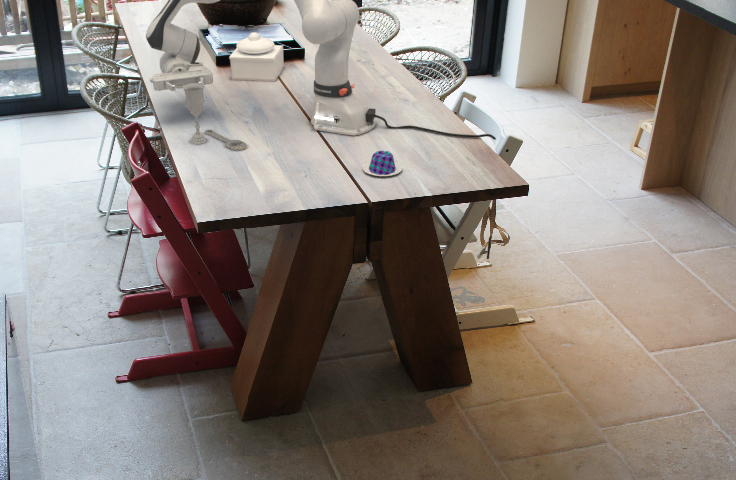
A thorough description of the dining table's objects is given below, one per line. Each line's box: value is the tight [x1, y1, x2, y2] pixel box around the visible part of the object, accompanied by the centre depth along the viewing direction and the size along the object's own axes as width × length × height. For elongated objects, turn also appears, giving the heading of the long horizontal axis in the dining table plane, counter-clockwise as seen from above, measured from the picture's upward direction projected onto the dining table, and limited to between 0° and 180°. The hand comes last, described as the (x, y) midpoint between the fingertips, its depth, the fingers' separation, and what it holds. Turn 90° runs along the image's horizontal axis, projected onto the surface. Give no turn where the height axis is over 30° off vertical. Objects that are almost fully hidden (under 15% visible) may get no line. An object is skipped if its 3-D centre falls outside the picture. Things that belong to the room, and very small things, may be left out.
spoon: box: [205, 129, 247, 151], centre depth 278 cm, size 21×5×1 cm, turn 39°
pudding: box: [362, 150, 403, 177], centre depth 254 cm, size 12×12×5 cm
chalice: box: [182, 83, 207, 145], centre depth 273 cm, size 7×7×18 cm
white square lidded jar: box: [228, 31, 285, 82], centre depth 331 cm, size 18×18×16 cm
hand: (187, 86), depth 279 cm, fingers open, 8 cm apart
